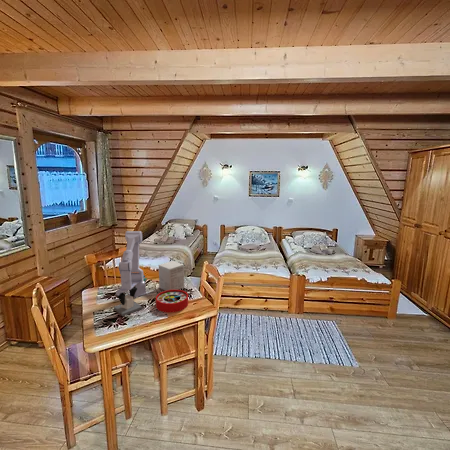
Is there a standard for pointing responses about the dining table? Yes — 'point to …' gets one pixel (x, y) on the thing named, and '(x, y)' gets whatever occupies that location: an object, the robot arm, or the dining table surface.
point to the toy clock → (171, 301)
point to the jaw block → (128, 302)
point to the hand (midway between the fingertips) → (127, 301)
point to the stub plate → (127, 311)
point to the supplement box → (171, 276)
